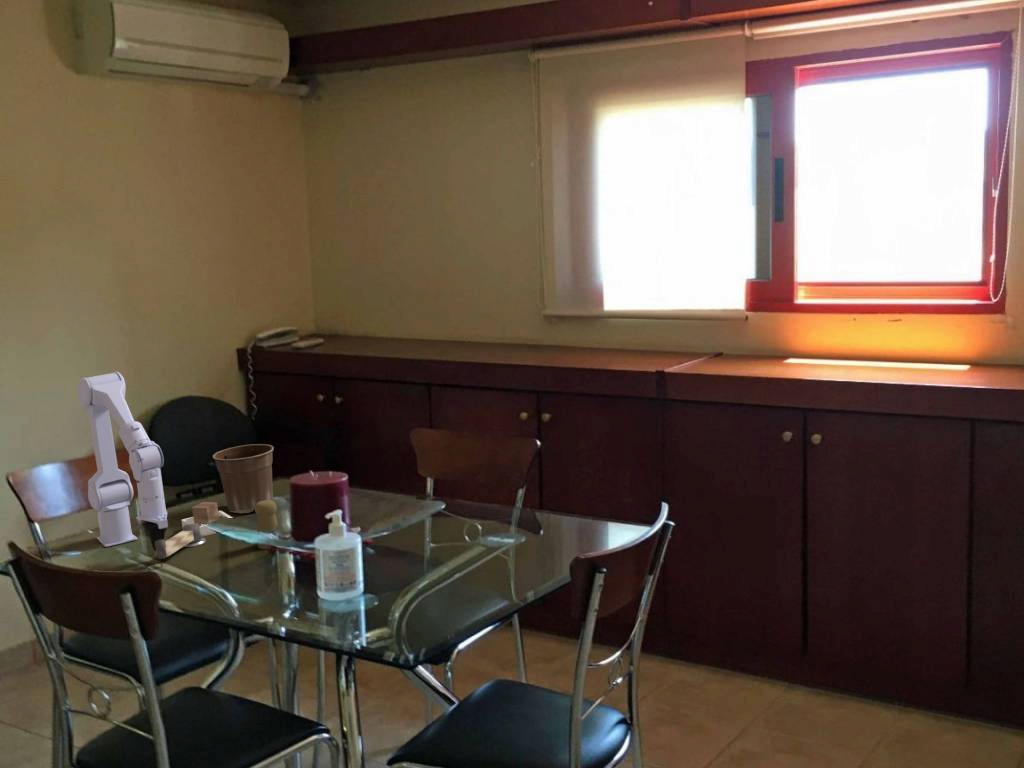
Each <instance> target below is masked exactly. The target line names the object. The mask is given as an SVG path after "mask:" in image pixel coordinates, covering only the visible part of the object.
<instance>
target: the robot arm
mask: <svg viewBox="0 0 1024 768" xmlns="http://www.w3.org/2000/svg"><path fill="white" fill-rule="evenodd" d="M126 389H127V388H126V381H125V379H124V376H123V375H122V374H121V373H120V372H119V371H114V372H111V373H105V374H101V375H100V374H99V375H96V376H95V375H94V376H89V377H82V378H80V380H79V381H78V384H77V392H78V397H79V405H80V407H81V409H85V410H87V413H88V419H89V426H90V432H91V439H92V446H93V451H94V457H95V463H96V468H97V470H96V472H95V473H94V474H93V475H92V476H91V477H90V478H89V479H88V481H87V487H88V491H87V497H88V503H89V504H90V506H91V507H92V509H94V510H95V511H98V512H97V522H98V528H99V533H100V534H99V536H97V537H96V540H98V541H99V543H101V545H103V547H106V548H108V547H111V546H116V545H119V544H125V543H129V542H132V541H137V540H138V537H137V536H136V535H134V534H133V532H132V527H131V526H132V524H131V518H130V511H129V506H131V501H132V500H133V497H134V487H133V485H132V482H131V479H130V476H129V474H128V473H127V472H126V471H124V470H122V469H119V465H118V459H117V453H116V448H115V447H116V446H115V441H114V440H115V439H114V436H113V435H114V433H113V428H112V422H111V416H112V418H113V419H114V421H115V422H116V424H117V425H118V427H119V430H118V436H119V438H120V440H121V443H123V446H124V447H125V449H126V451H127V453H128V454H129V456H128V462H129V466H130V469H131V470H132V476H133V479H134V480H136V486H137V493H138V494H137V495H138V501H139V502H138V503H139V507H140V515H137V516H136V517H135V518H136V521H138V522H139V521H140V522H141V521H145V522H143V523H141V526H142V527H143V529H144V530H145V531H146V533H147V536H148V538H149V540H150V543H151V547H152V549H153V551H154V552H156V548H155V541H157V540H161V539H164V540H165V536H166V531H167V528H169V520H168V519H167V518H168V510H167V509H166V500H165V493H164V486H163V478H162V471H161V470H162V469H161V468H162V467H163V466H164V462H165V460H164V454H163V451H162V448H161V447H160V445H159V444H157V443H155V441H153V440H151V439H150V438H149V436H148V434H147V432H146V430H145V428H144V426H143V425H142V423H141V422H139V421H136V420H135V419H134V417H133V415H132V412H131V410H130V408H129V406H128V403H127V401H126ZM110 415H111V416H110Z"/></svg>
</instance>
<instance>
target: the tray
mask: <svg viewBox="0 0 1024 768" xmlns="http://www.w3.org/2000/svg"><path fill="white" fill-rule="evenodd" d="M218 514H219V516H223V517H227V518H233V516H231V515H229V514H227V513H226V512H224V511H223V510H218ZM188 524H194V518H193V516H191V517H187V518H183V519H181V525H182V527H181V528H182V529H183V526H185V525H188ZM207 525H208V524H207ZM207 525H203V526H200V533H201V538H204V537H207V536H209V535H210V536H212V535H214V534H217V533H216V532H214V531H212V530H210V529H209V528H208V527H206V526H207Z"/></svg>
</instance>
